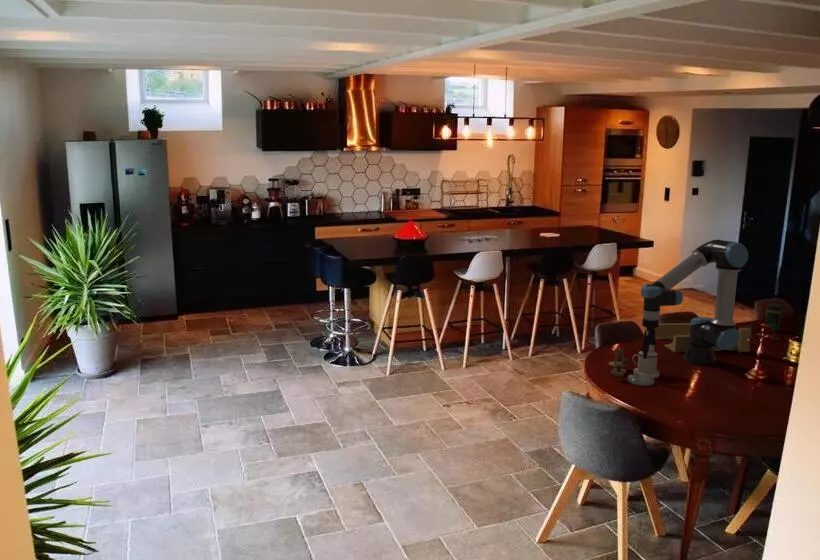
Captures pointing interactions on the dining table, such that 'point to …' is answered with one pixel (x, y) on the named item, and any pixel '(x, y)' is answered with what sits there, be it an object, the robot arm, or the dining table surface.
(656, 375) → the dish
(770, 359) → the dining table surface
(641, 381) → the dish
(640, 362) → the teacup with lid
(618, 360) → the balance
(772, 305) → the coffee jar
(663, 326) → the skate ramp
